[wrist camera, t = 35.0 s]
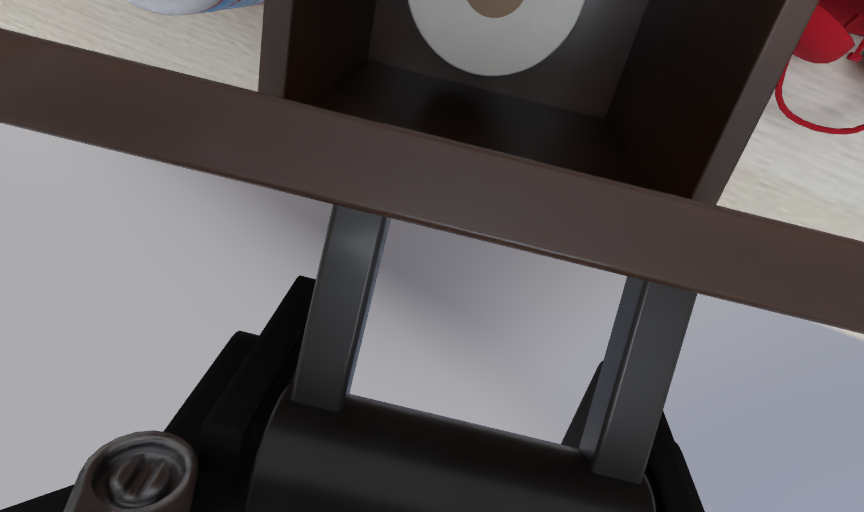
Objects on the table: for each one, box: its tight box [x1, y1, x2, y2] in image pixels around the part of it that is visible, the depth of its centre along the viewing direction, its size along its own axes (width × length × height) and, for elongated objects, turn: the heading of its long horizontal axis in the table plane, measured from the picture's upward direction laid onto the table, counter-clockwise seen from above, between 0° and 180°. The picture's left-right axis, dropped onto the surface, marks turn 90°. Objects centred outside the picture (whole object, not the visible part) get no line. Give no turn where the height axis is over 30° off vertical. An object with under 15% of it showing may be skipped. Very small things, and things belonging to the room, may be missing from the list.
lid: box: [0, 28, 864, 512], centre depth 11 cm, size 12×14×5 cm
